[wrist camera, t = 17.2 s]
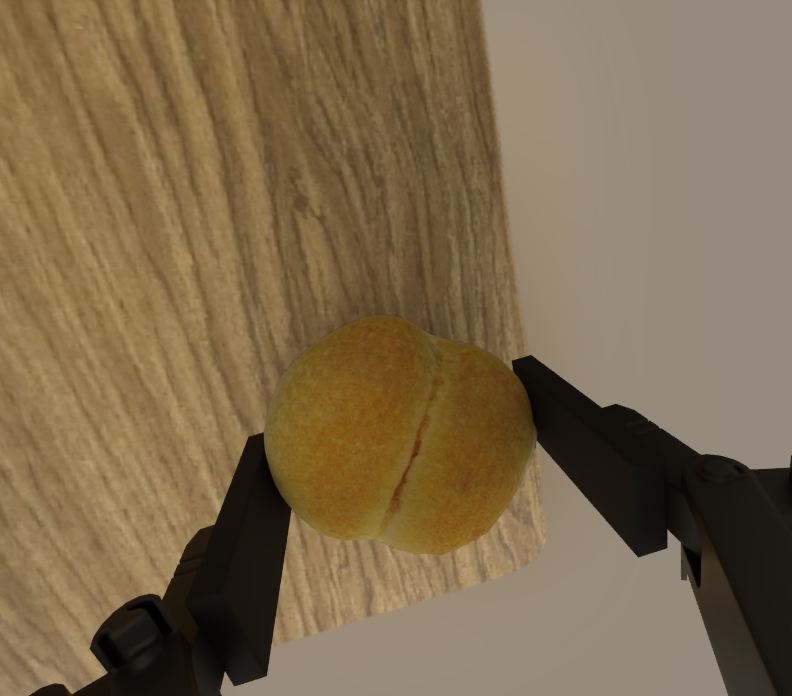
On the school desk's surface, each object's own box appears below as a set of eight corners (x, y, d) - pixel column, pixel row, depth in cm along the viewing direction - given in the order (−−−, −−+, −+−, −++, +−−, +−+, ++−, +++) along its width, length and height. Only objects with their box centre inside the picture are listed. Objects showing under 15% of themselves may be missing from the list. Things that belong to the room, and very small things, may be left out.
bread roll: (311, 280, 13) (301, 308, 9) (540, 364, 15) (606, 414, 12) (240, 486, 15) (209, 576, 11) (452, 534, 17) (484, 623, 14)
